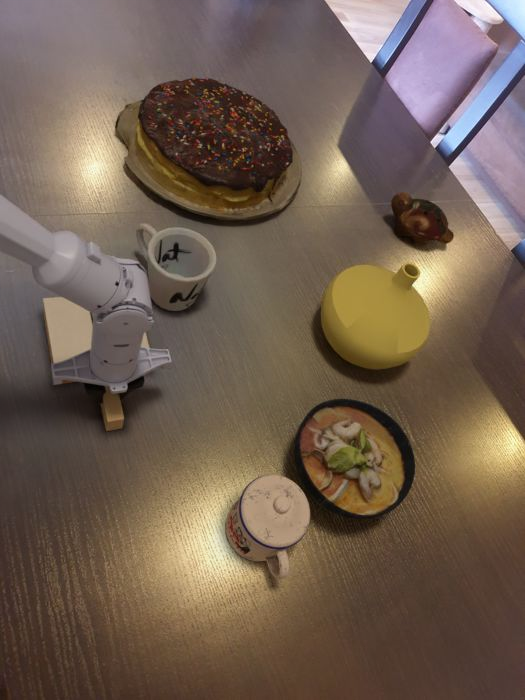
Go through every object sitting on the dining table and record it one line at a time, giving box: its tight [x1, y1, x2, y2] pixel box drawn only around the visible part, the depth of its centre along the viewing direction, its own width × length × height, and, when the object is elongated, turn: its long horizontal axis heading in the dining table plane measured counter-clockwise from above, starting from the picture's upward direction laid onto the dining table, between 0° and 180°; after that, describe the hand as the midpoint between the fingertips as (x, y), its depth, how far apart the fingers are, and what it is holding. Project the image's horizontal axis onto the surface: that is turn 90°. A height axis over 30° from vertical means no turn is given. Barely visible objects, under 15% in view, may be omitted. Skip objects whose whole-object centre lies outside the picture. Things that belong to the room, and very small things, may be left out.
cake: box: [114, 77, 303, 221], centre depth 109 cm, size 37×37×10 cm
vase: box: [320, 261, 431, 370], centre depth 91 cm, size 18×18×19 cm
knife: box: [90, 312, 125, 432], centre depth 80 cm, size 18×2×3 cm, turn 18°
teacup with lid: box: [225, 474, 311, 581], centre depth 71 cm, size 12×9×12 cm
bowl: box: [293, 398, 416, 521], centre depth 80 cm, size 17×17×10 cm
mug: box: [135, 222, 217, 312], centre depth 89 cm, size 10×15×10 cm
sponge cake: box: [42, 296, 150, 385], centre depth 82 cm, size 13×12×5 cm
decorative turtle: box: [390, 192, 455, 246], centre depth 115 cm, size 10×15×8 cm, turn 78°
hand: (108, 395), depth 78 cm, fingers closed on knife, 2 cm apart
